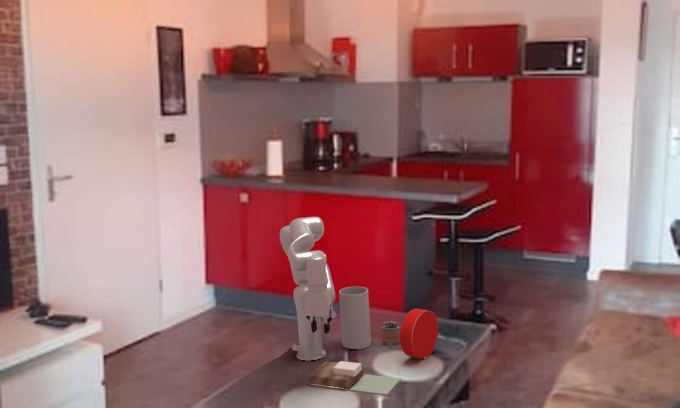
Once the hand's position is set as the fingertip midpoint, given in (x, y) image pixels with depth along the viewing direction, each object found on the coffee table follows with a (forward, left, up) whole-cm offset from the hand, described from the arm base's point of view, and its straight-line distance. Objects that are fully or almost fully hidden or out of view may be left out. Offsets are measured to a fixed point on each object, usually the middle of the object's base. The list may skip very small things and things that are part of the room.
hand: (320, 331), depth 287 cm
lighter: (+12, +43, -20) cm, 49 cm away
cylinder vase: (-2, +37, -20) cm, 42 cm away
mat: (+22, 0, -19) cm, 29 cm away
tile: (+10, 0, -14) cm, 18 cm away
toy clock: (+29, +32, -20) cm, 48 cm away
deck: (+5, 0, -19) cm, 20 cm away
